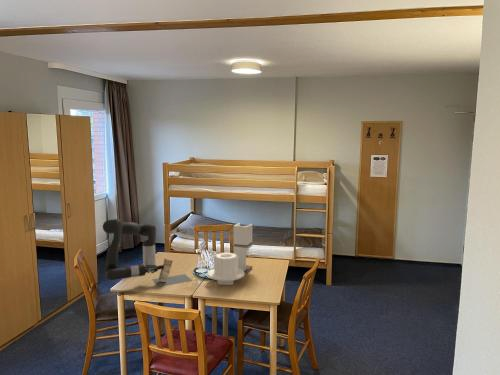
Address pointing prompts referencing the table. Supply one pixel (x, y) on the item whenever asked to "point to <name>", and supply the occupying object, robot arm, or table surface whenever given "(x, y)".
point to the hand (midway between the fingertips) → (162, 266)
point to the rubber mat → (172, 280)
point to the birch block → (165, 270)
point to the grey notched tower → (242, 245)
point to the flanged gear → (226, 269)
